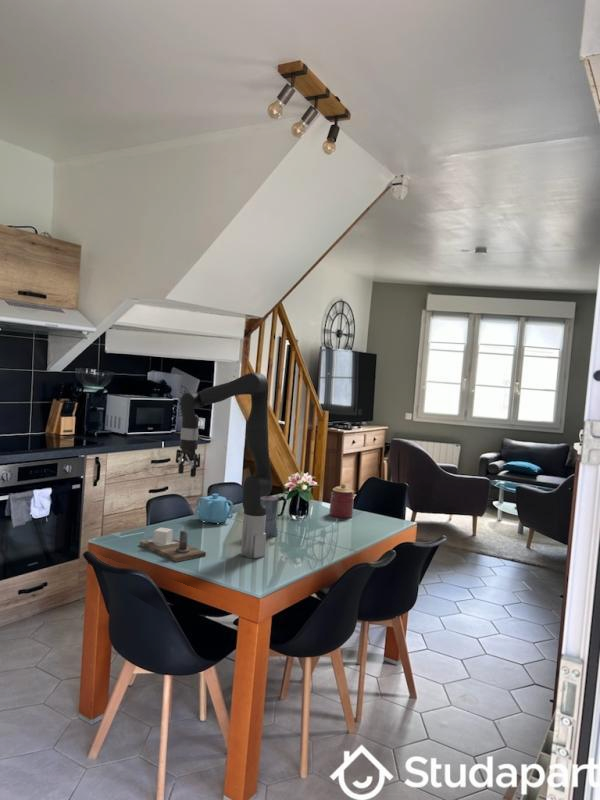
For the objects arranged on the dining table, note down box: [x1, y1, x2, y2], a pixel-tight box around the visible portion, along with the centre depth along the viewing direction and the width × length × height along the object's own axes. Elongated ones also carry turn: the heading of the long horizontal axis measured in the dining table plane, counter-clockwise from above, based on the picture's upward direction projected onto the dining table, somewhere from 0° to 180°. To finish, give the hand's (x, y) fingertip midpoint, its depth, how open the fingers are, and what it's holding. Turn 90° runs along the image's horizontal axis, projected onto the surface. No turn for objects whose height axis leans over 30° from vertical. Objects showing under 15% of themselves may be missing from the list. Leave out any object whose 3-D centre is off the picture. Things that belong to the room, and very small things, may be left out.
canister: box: [328, 483, 355, 519], centre depth 333 cm, size 13×13×18 cm
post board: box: [139, 530, 207, 563], centre depth 248 cm, size 26×14×10 cm, turn 47°
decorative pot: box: [194, 493, 234, 523], centre depth 299 cm, size 16×16×14 cm
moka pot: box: [261, 492, 287, 538], centre depth 282 cm, size 10×15×20 cm, turn 117°
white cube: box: [153, 527, 174, 544], centre depth 253 cm, size 6×6×5 cm
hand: (186, 475), depth 265 cm, fingers open, 8 cm apart
